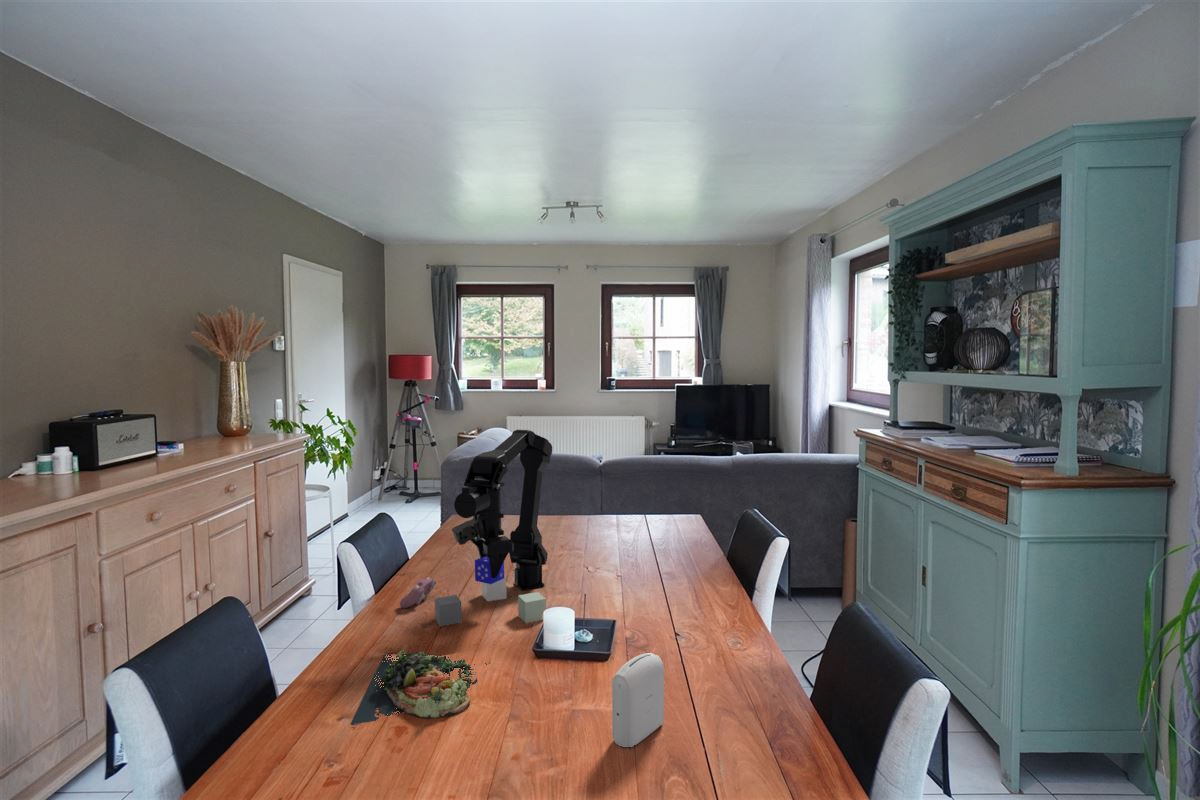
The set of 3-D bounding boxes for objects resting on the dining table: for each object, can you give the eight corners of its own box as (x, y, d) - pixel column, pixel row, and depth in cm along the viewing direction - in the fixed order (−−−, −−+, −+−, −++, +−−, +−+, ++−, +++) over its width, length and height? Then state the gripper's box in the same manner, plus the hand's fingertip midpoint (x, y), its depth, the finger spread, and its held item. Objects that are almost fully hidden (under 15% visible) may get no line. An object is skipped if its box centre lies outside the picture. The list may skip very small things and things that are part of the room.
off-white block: (500, 592, 168) (500, 573, 168) (506, 598, 164) (506, 579, 163) (481, 595, 166) (481, 576, 166) (487, 602, 161) (487, 582, 161)
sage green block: (538, 612, 155) (538, 592, 154) (545, 619, 150) (545, 598, 150) (518, 616, 152) (518, 595, 152) (525, 623, 148) (525, 602, 148)
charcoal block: (456, 615, 153) (456, 594, 153) (461, 623, 148) (461, 601, 148) (435, 619, 151) (434, 598, 150) (439, 627, 146) (439, 605, 146)
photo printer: (629, 752, 99) (629, 674, 98) (608, 742, 102) (608, 666, 101) (667, 724, 107) (668, 651, 106) (646, 714, 110) (646, 644, 109)
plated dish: (504, 739, 104) (503, 695, 103) (321, 756, 100) (319, 710, 100) (506, 646, 138) (505, 613, 138) (371, 656, 135) (369, 622, 134)
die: (488, 574, 157) (488, 554, 157) (504, 578, 154) (504, 557, 154) (474, 580, 153) (474, 560, 152) (490, 584, 150) (490, 563, 150)
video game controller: (412, 616, 156) (424, 591, 155) (396, 606, 157) (408, 582, 156) (430, 601, 166) (441, 578, 165) (415, 592, 167) (426, 569, 166)
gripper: (445, 504, 157) (446, 566, 158) (465, 521, 140) (466, 591, 141) (490, 499, 162) (490, 560, 163) (514, 515, 145) (514, 583, 146)
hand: (489, 573), depth 153 cm, fingers closed on die, 7 cm apart
